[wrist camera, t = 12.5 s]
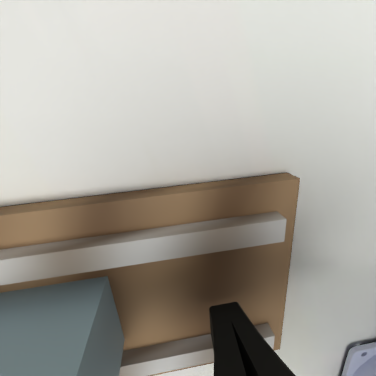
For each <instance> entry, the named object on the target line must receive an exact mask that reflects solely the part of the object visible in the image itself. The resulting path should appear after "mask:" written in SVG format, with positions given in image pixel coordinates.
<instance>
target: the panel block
mask: <svg viewBox="0 0 376 376" xmlns="http://www.w3.org/2000/svg"><path fill="white" fill-rule="evenodd" d="M124 340H125V338H124V335H123V331H122V327H121V324H120V320H119V316H118V313H117V309H116V305H115V302H114V298H113V294H112V291H111V287H110V283H109V280H108V276H105V277H98V278H92V279H85V280H79V281H73V282H66V283H60V284H53V285H47V286H41V287H34V288H28V289H21V290H15V291H9V292H2V293H0V376H119V374H120V367H121V360H122V353H123V347H124Z"/></svg>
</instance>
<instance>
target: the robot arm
mask: <svg viewBox="0 0 376 376" xmlns="http://www.w3.org/2000/svg"><path fill="white" fill-rule="evenodd" d="M209 315H210V330H211V338H212V344H213V351H214V376H295V375H294V373H293V372H292V371H291V370H290V369H289V368H288V367H287V366H286V364H285V363H284V362H283V361H282V360H281V359H280V357H279V356H278V355H277V354H276V353H275V352H274V350H273V349H272V348H271V347H270V345H269V344H268V343H267V342H266V340H265V339H264V338H263V337H262V335H261V334H260V333H259V332H258V330H257V329H256V328H255V326H254V325H253V323H252V322H251V321H250V319H249V318H248V317H247V315H246V314H245V312H244V311H243V309H242V308H241V306H240V305H239V303H238V302H231V303H226V304H220V305H215V306H211V307H210V308H209ZM341 376H376V342H373V343H368V344H364V345H359V346H355V347H352V348H351V349H350V350H349V352H348V355H347V359H346V362H345V365H344V369H343V372H342V375H341Z"/></svg>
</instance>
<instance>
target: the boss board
mask: <svg viewBox="0 0 376 376" xmlns="http://www.w3.org/2000/svg"><path fill="white" fill-rule="evenodd" d="M299 182H300V178H298V177H295V176H293V175H291V174H289V173H281V174H273V175H264V176H256V177H248V178H239V179H231V180H223V181H214V182H206V183H198V184H189V185H181V186H172V187H164V188H156V189H147V190H139V191H131V192H122V193H114V194H106V195H97V196H89V197H81V198H72V199H64V200H56V201H47V202H39V203H31V204H22V205H14V206H6V207H0V293H2V292H9V291H15V290H21V289H28V288H34V287H41V286H47V285H53V284H60V283H66V282H73V281H79V280H85V279H92V278H98V277H105V276H108V280H109V283H110V287H111V291H112V294H113V298H114V302H115V305H116V309H117V313H118V316H119V320H120V324H121V327H122V331H123V335H124V338H125V340H124V347H123V353H122V360H121V367H120V374H119V376H153V375H158V374H163V373H167V372H172V371H177V370H182V369H187V368H191V367H196V366H201V365H206V364H211V363H214V351H213V344H212V338H211V330H210V315H209V308H210V307H211V306H215V305H220V304H226V303H231V302H238V303H239V305H240V306H241V308H242V309H243V311H244V312H245V314H246V315H247V317H248V318H249V319H250V321H251V322H252V323H253V325H254V326H255V328H256V329H257V330H258V332H259V333H260V334H261V335H262V337H263V338H264V339H265V340H266V342H267V343H268V344H269V345H270V347H271V348H272V349H273V350H278V349H280V343H281V335H282V326H283V318H284V309H285V301H286V292H287V284H288V275H289V267H290V258H291V250H292V241H293V233H294V224H295V216H296V207H297V199H298V190H299Z"/></svg>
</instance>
